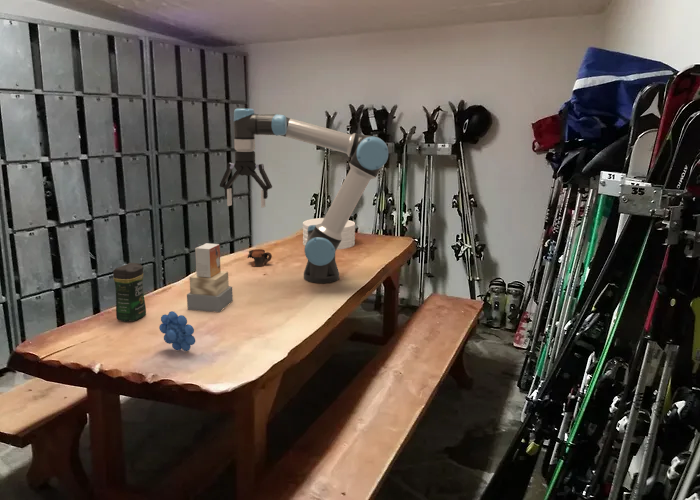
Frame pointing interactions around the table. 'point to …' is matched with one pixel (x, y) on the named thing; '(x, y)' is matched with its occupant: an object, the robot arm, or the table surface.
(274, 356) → the table surface
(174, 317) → the grapes
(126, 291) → the coffee jar
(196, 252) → the small box
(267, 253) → the pottery mug
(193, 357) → the table surface
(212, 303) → the block base
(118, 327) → the table surface
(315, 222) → the plate stack
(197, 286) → the block top
